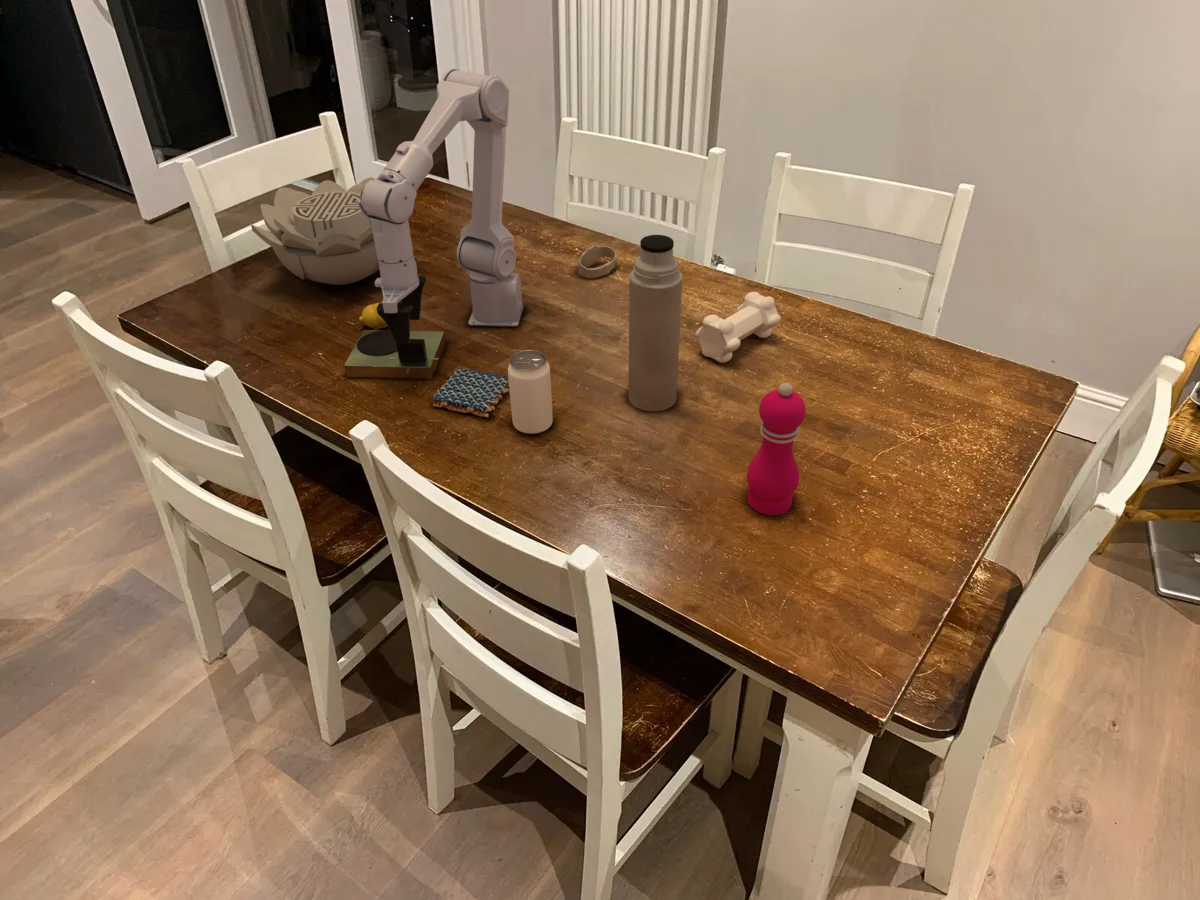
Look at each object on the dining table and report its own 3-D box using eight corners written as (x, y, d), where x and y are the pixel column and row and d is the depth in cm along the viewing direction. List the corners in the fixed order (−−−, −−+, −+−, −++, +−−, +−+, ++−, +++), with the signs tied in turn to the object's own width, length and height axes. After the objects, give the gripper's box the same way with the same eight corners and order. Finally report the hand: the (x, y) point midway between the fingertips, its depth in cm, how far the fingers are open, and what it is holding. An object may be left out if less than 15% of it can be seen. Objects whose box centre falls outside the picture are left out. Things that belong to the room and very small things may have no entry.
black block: (427, 356, 149) (424, 337, 147) (425, 361, 148) (422, 342, 146) (401, 356, 150) (397, 337, 147) (399, 360, 148) (395, 341, 146)
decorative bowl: (406, 308, 168) (394, 236, 159) (255, 308, 169) (234, 237, 159) (432, 242, 192) (422, 175, 183) (299, 242, 192) (283, 176, 183)
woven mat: (429, 408, 142) (427, 398, 140) (459, 374, 149) (458, 364, 148) (486, 420, 139) (485, 410, 137) (514, 385, 146) (513, 375, 145)
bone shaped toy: (729, 371, 149) (733, 330, 144) (691, 353, 154) (693, 313, 149) (780, 339, 157) (786, 299, 152) (743, 322, 162) (747, 283, 157)
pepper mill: (738, 485, 125) (752, 370, 113) (787, 482, 126) (806, 366, 113) (749, 519, 119) (765, 401, 107) (801, 516, 120) (822, 398, 108)
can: (547, 437, 135) (543, 373, 127) (507, 432, 136) (501, 368, 128) (557, 413, 140) (554, 350, 132) (518, 409, 141) (513, 346, 133)
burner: (409, 331, 156) (409, 330, 156) (398, 356, 150) (398, 355, 150) (364, 330, 157) (364, 329, 157) (351, 355, 150) (350, 354, 150)
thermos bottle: (636, 380, 147) (638, 225, 130) (681, 389, 145) (690, 232, 128) (622, 406, 141) (622, 247, 124) (668, 415, 139) (676, 255, 122)
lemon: (399, 315, 166) (395, 294, 163) (405, 325, 163) (402, 304, 160) (358, 324, 163) (353, 304, 161) (364, 335, 160) (359, 314, 158)
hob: (450, 343, 158) (449, 330, 156) (434, 385, 147) (432, 372, 145) (365, 341, 159) (363, 329, 157) (343, 383, 148) (340, 370, 146)
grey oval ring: (603, 259, 184) (603, 237, 181) (624, 268, 180) (624, 246, 177) (571, 272, 179) (570, 250, 176) (591, 282, 176) (591, 260, 172)
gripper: (382, 236, 143) (395, 308, 151) (357, 276, 132) (373, 352, 140) (424, 236, 143) (435, 309, 151) (403, 276, 131) (416, 353, 140)
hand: (408, 330), depth 145 cm, fingers open, 7 cm apart
